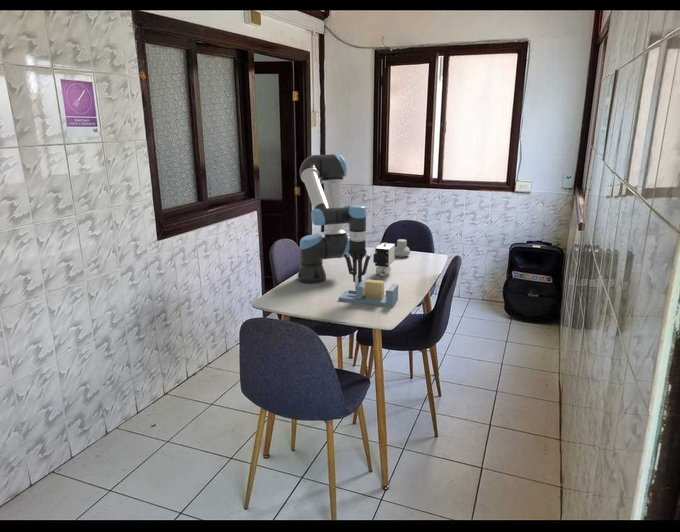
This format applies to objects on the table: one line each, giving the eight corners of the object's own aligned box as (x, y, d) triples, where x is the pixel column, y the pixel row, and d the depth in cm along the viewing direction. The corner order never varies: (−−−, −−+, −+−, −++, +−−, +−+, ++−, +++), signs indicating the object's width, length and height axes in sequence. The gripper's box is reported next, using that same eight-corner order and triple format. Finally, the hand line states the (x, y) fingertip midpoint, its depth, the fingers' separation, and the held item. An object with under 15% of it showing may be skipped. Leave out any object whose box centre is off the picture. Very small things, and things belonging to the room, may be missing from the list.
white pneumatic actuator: (380, 269, 276) (381, 238, 272) (395, 270, 274) (396, 239, 269) (371, 278, 260) (371, 246, 255) (386, 280, 257) (387, 247, 252)
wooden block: (365, 298, 227) (365, 281, 225) (367, 295, 230) (367, 279, 228) (381, 300, 224) (381, 283, 222) (384, 297, 228) (384, 280, 226)
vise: (338, 300, 229) (338, 285, 227) (345, 293, 238) (345, 278, 236) (392, 306, 220) (392, 291, 218) (398, 299, 229) (398, 284, 227)
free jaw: (345, 297, 227) (345, 285, 225) (352, 290, 236) (352, 279, 234) (363, 299, 224) (363, 287, 222) (369, 292, 233) (369, 280, 231)
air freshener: (411, 257, 300) (411, 241, 297) (398, 258, 298) (398, 242, 295) (404, 253, 310) (405, 238, 307) (392, 254, 308) (392, 238, 305)
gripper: (341, 240, 221) (341, 289, 228) (368, 242, 217) (368, 292, 223) (346, 237, 228) (347, 285, 235) (373, 239, 224) (373, 287, 230)
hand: (357, 288), depth 229 cm, fingers closed
